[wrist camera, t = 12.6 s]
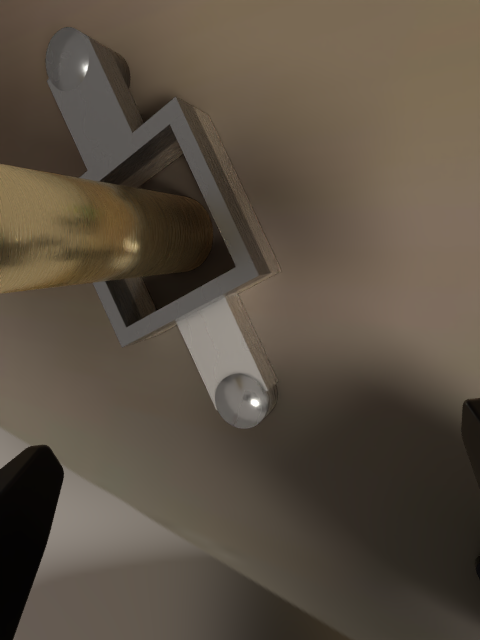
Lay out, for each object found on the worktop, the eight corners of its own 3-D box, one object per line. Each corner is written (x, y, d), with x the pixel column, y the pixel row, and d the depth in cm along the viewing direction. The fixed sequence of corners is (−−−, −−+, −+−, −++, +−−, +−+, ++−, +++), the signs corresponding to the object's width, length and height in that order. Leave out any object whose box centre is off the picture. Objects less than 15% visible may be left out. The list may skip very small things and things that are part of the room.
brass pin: (226, 225, 22) (-15, 205, 10) (189, 286, 23) (-59, 330, 12) (171, 181, 23) (-108, 118, 11) (138, 243, 24) (-136, 245, 13)
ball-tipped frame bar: (337, 389, 21) (322, 411, 18) (202, 436, 25) (173, 460, 22) (155, 1, 21) (114, -34, 19) (51, 105, 25) (5, 89, 23)
